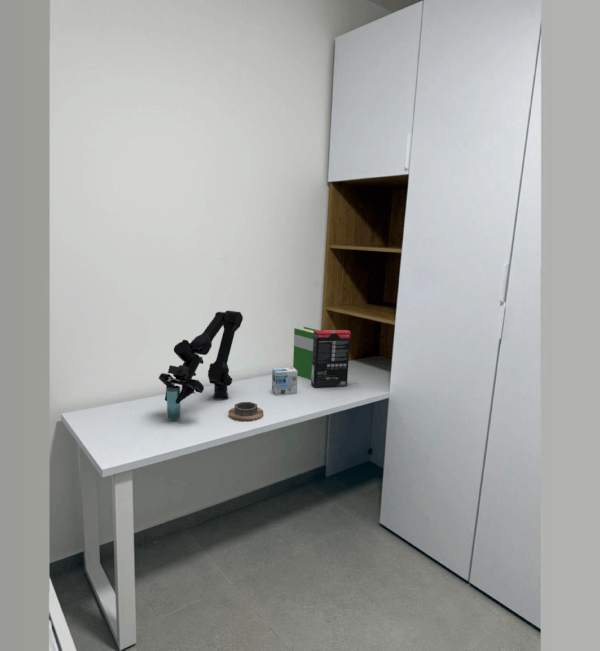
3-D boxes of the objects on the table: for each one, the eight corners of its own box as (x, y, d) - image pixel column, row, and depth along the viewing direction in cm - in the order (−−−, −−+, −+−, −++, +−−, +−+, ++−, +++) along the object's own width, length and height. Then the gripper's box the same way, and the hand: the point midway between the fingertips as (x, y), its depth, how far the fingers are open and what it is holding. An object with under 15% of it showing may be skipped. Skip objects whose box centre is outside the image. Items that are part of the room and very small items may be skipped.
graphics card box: (343, 382, 248) (346, 328, 243) (348, 386, 242) (351, 331, 236) (310, 384, 244) (312, 329, 238) (314, 388, 237) (316, 332, 232)
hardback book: (293, 373, 260) (294, 328, 255) (303, 371, 265) (304, 326, 260) (316, 382, 247) (318, 334, 243) (327, 379, 252) (329, 332, 248)
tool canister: (168, 414, 197) (167, 385, 194) (181, 414, 198) (180, 385, 195) (166, 419, 192) (165, 389, 190) (180, 419, 193) (179, 389, 190)
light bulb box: (275, 395, 227) (275, 372, 224) (271, 390, 233) (271, 368, 231) (297, 393, 230) (298, 370, 228) (293, 388, 236) (293, 366, 234)
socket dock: (228, 409, 208) (228, 400, 207) (261, 408, 210) (261, 399, 209) (228, 422, 194) (228, 412, 194) (264, 420, 197) (264, 411, 196)
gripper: (160, 353, 198) (141, 387, 190) (198, 360, 189) (179, 396, 182) (174, 367, 206) (156, 401, 199) (211, 375, 198) (194, 410, 191)
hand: (171, 401), depth 192 cm, fingers closed on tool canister, 5 cm apart
